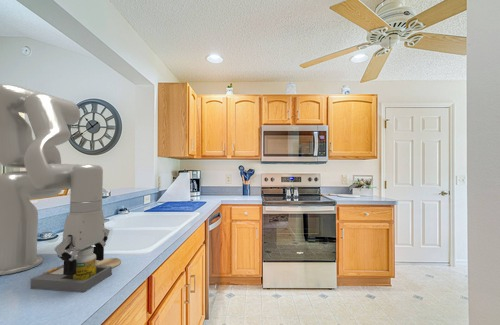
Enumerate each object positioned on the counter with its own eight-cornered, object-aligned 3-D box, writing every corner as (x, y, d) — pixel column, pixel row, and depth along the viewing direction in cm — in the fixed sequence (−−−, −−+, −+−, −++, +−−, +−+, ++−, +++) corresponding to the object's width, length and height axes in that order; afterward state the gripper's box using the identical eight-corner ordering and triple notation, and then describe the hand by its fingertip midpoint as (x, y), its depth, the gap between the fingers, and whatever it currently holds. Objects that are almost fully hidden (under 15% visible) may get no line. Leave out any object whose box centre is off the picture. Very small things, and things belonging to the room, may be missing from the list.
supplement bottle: (96, 275, 68) (96, 243, 68) (95, 283, 63) (96, 249, 64) (73, 280, 65) (74, 247, 65) (71, 288, 60) (72, 253, 61)
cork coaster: (82, 270, 71) (82, 268, 71) (103, 259, 80) (103, 257, 80) (107, 271, 70) (107, 269, 70) (126, 260, 79) (126, 258, 79)
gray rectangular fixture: (30, 288, 61) (30, 277, 61) (65, 271, 70) (65, 262, 71) (83, 292, 59) (84, 281, 59) (111, 274, 69) (111, 265, 69)
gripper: (98, 202, 74) (97, 254, 73) (44, 212, 57) (42, 280, 56) (119, 202, 73) (118, 255, 72) (70, 213, 56) (68, 282, 55)
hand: (84, 266), depth 64 cm, fingers open, 9 cm apart
